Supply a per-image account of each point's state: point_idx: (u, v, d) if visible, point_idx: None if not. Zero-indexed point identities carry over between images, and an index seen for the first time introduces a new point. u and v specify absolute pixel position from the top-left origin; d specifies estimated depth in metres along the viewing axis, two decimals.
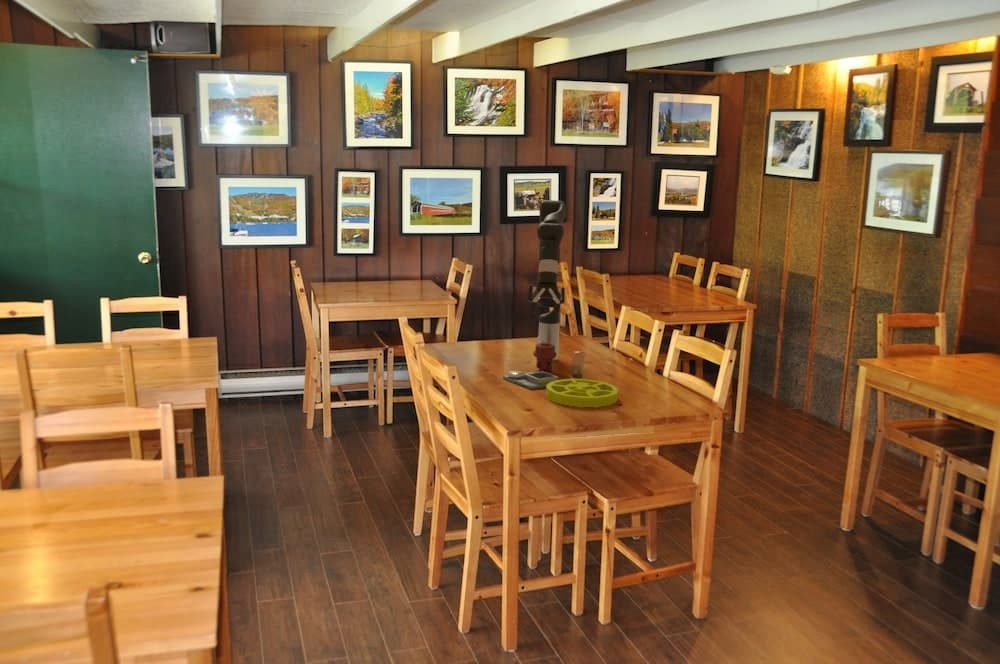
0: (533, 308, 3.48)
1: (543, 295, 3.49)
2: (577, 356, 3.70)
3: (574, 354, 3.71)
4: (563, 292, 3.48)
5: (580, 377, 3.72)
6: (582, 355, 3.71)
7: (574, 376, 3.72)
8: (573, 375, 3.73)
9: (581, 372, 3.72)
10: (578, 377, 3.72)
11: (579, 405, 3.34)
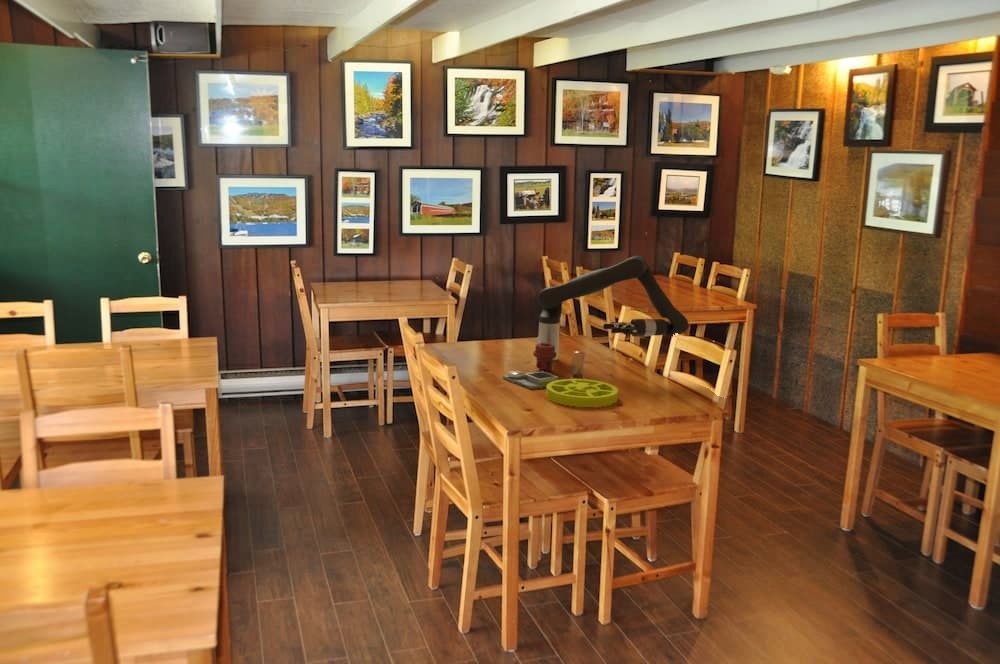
0: None
1: None
2: (577, 356, 3.70)
3: (574, 354, 3.71)
4: None
5: (580, 377, 3.72)
6: (582, 355, 3.71)
7: (574, 376, 3.72)
8: (573, 375, 3.73)
9: (581, 372, 3.72)
10: (578, 377, 3.72)
11: (579, 405, 3.34)
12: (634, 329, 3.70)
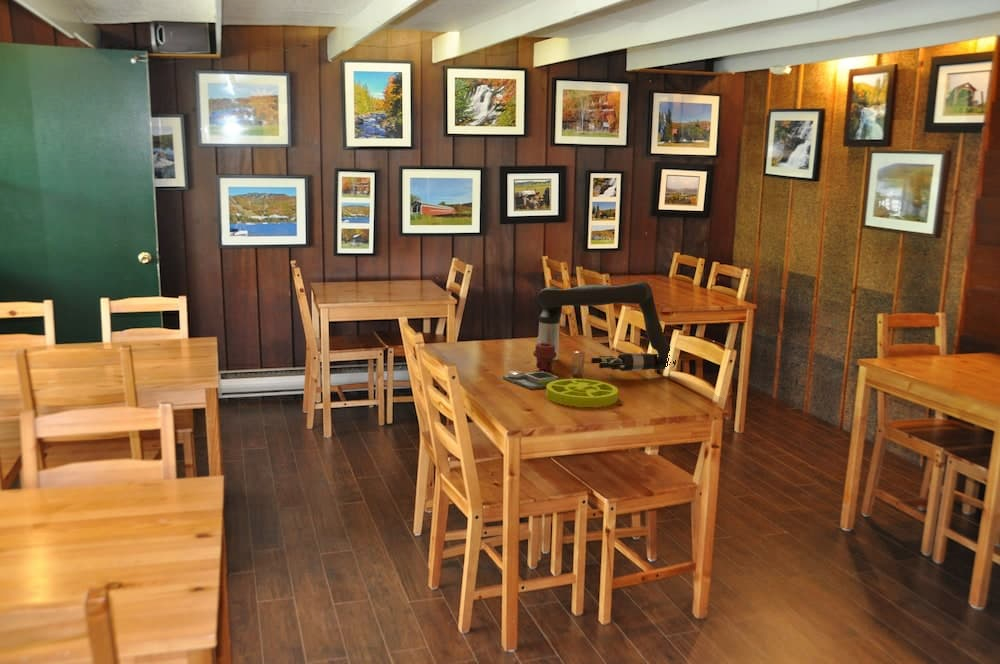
0: None
1: None
2: (577, 356, 3.70)
3: (574, 354, 3.71)
4: None
5: (580, 377, 3.72)
6: (582, 355, 3.71)
7: (574, 376, 3.72)
8: (573, 375, 3.73)
9: (581, 372, 3.72)
10: (578, 377, 3.72)
11: (579, 405, 3.34)
12: (622, 364, 3.72)
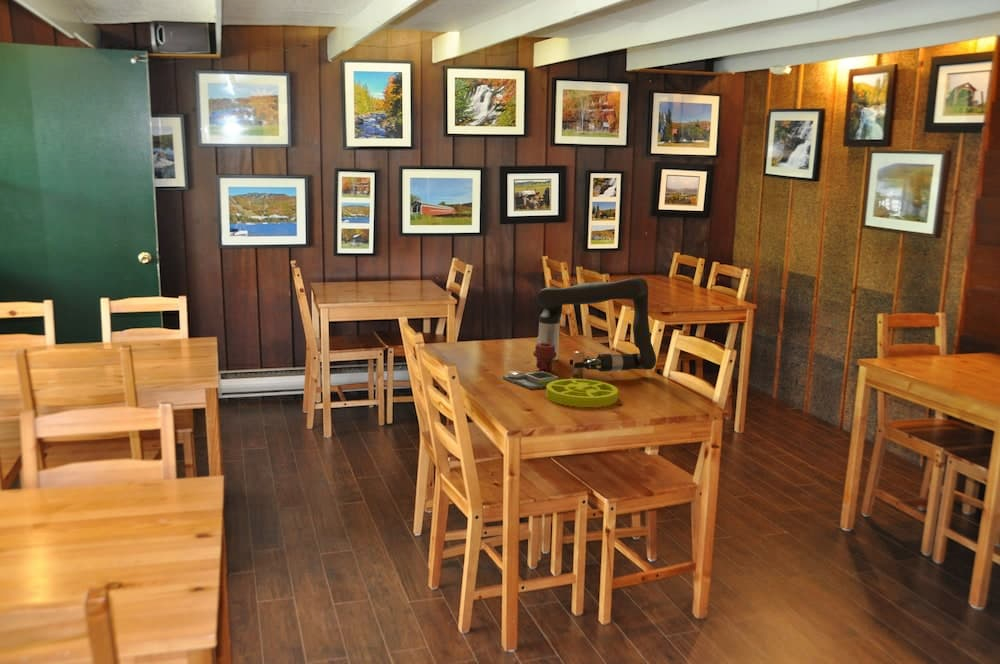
0: (578, 367, 3.70)
1: None
2: (577, 356, 3.70)
3: (574, 354, 3.71)
4: None
5: (580, 377, 3.72)
6: (582, 355, 3.71)
7: (574, 376, 3.72)
8: (573, 375, 3.73)
9: (581, 372, 3.72)
10: (578, 377, 3.72)
11: (579, 405, 3.34)
12: (597, 365, 3.69)
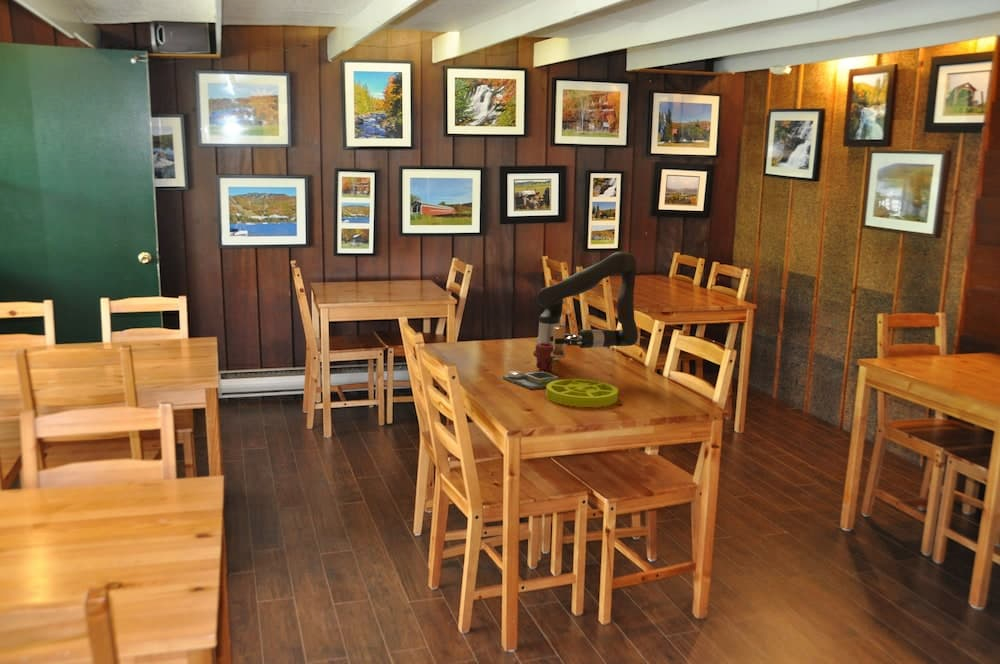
0: None
1: None
2: (557, 332, 3.64)
3: (555, 330, 3.64)
4: None
5: (561, 353, 3.66)
6: (563, 331, 3.64)
7: (555, 352, 3.66)
8: (554, 351, 3.66)
9: (562, 348, 3.66)
10: (559, 353, 3.65)
11: (579, 405, 3.34)
12: (578, 341, 3.62)
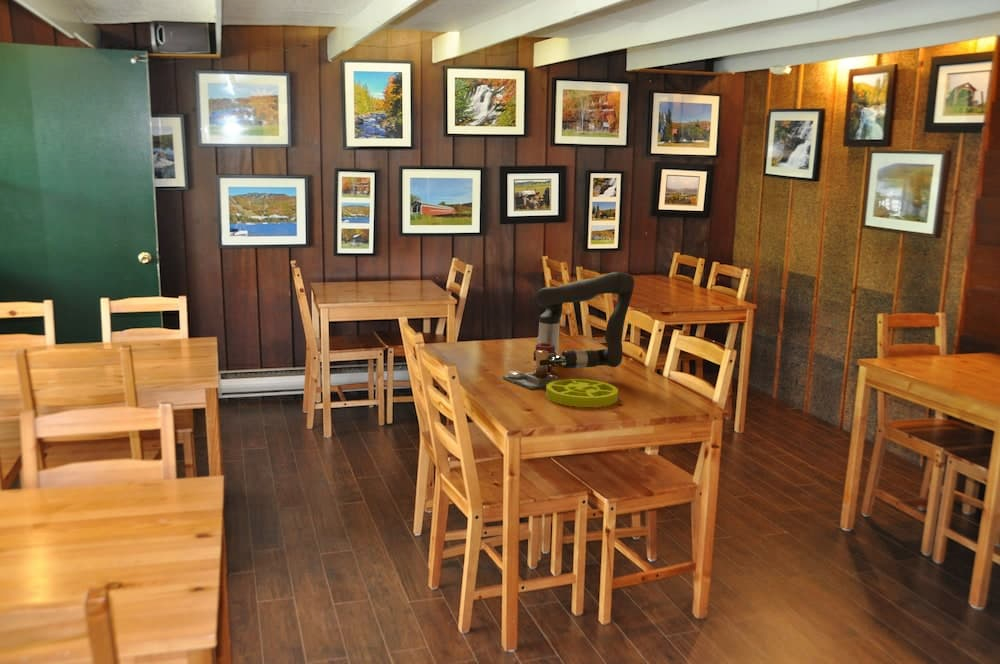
0: (543, 364, 3.61)
1: None
2: (540, 355, 3.63)
3: (537, 353, 3.64)
4: None
5: (543, 377, 3.65)
6: (545, 354, 3.63)
7: (537, 376, 3.65)
8: (536, 375, 3.65)
9: (544, 372, 3.65)
10: (541, 377, 3.65)
11: (579, 405, 3.34)
12: (563, 362, 3.61)
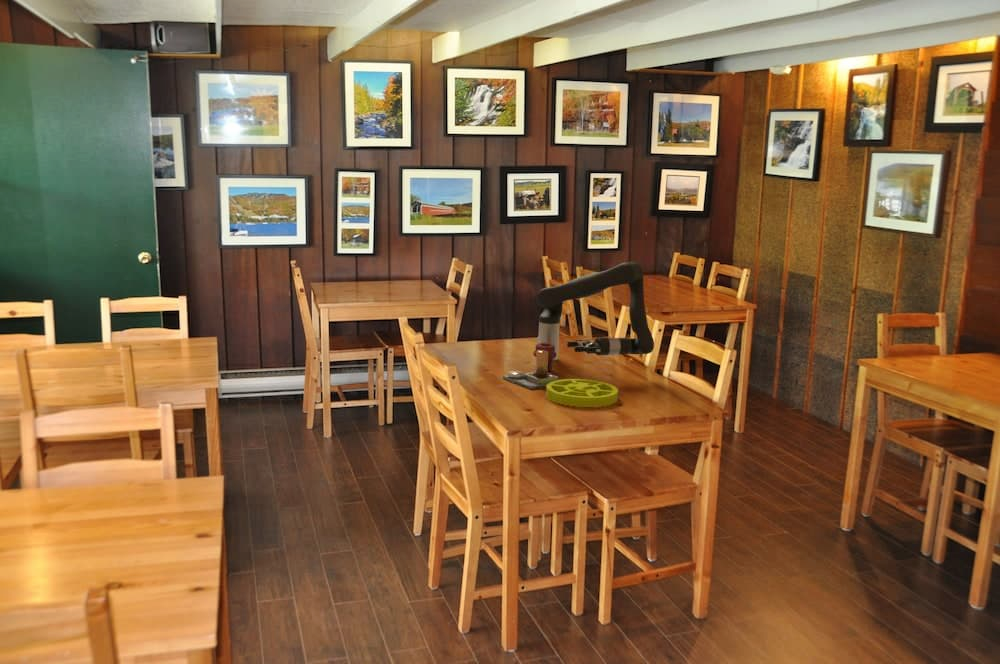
0: (578, 351, 3.66)
1: None
2: (540, 356, 3.63)
3: (537, 354, 3.64)
4: None
5: (544, 377, 3.65)
6: (546, 354, 3.63)
7: (537, 376, 3.65)
8: (536, 375, 3.65)
9: (545, 372, 3.65)
10: (541, 377, 3.65)
11: (579, 405, 3.34)
12: (597, 348, 3.66)
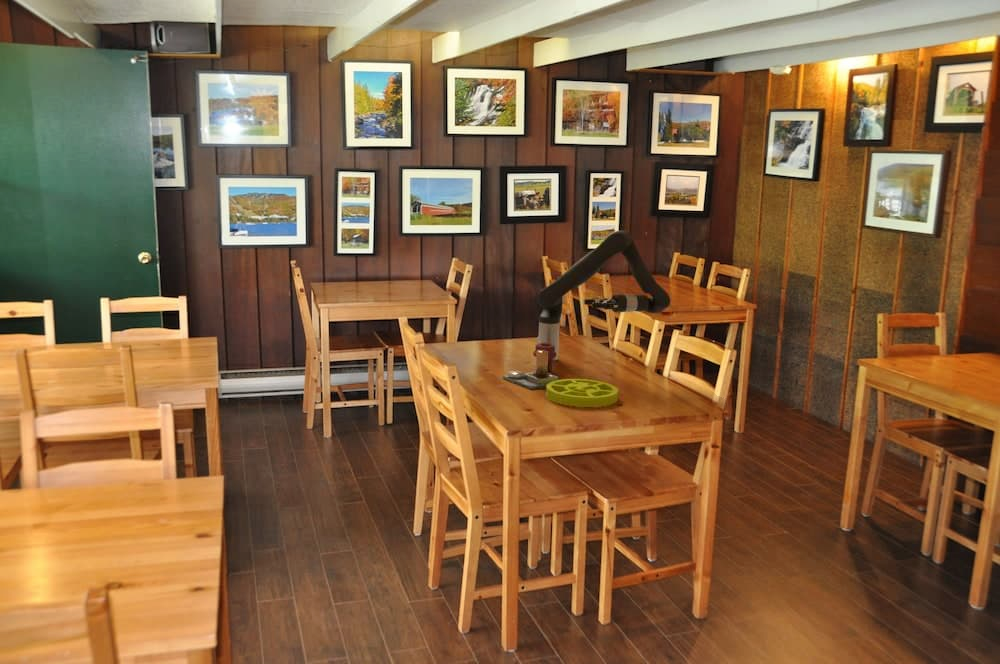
0: None
1: None
2: (540, 356, 3.63)
3: (537, 354, 3.64)
4: None
5: (544, 377, 3.65)
6: (546, 354, 3.63)
7: (537, 376, 3.65)
8: (536, 375, 3.65)
9: (545, 372, 3.65)
10: (541, 377, 3.65)
11: (579, 405, 3.34)
12: (615, 304, 3.67)
